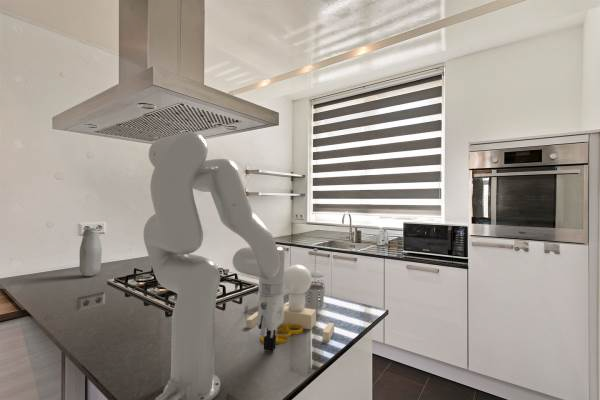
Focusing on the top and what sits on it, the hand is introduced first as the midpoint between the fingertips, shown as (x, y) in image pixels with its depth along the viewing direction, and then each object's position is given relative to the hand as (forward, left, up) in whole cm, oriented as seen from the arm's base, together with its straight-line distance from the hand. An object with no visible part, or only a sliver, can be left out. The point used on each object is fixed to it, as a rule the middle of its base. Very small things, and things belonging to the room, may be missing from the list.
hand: (269, 349), depth 89 cm
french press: (+42, -2, -1) cm, 42 cm away
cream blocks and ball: (+21, 0, -1) cm, 21 cm away
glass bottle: (+42, +134, -1) cm, 140 cm away
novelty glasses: (+12, +1, -1) cm, 12 cm away
